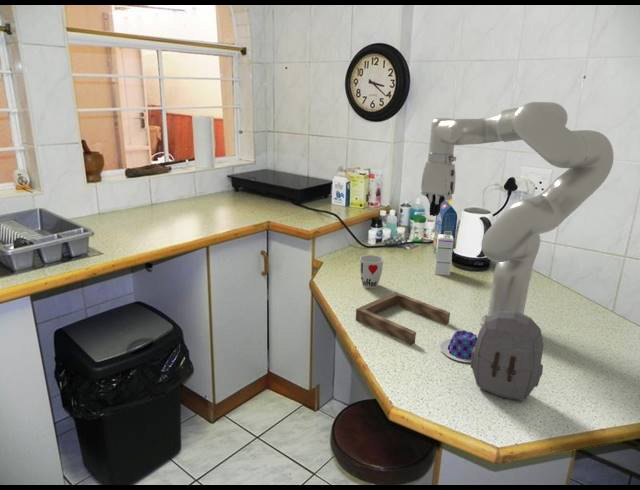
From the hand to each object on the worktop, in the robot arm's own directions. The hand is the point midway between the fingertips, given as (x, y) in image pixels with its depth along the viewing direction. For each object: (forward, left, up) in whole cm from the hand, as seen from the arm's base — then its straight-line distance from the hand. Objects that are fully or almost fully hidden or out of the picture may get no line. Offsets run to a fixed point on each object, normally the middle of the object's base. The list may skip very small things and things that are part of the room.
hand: (434, 215), depth 152 cm
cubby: (-8, +25, -27) cm, 38 cm away
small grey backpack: (-44, +37, -27) cm, 64 cm away
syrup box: (+6, -20, -27) cm, 34 cm away
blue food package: (+18, -40, -27) cm, 52 cm away
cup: (+16, +11, -27) cm, 34 cm away
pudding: (-29, +27, -28) cm, 48 cm away
